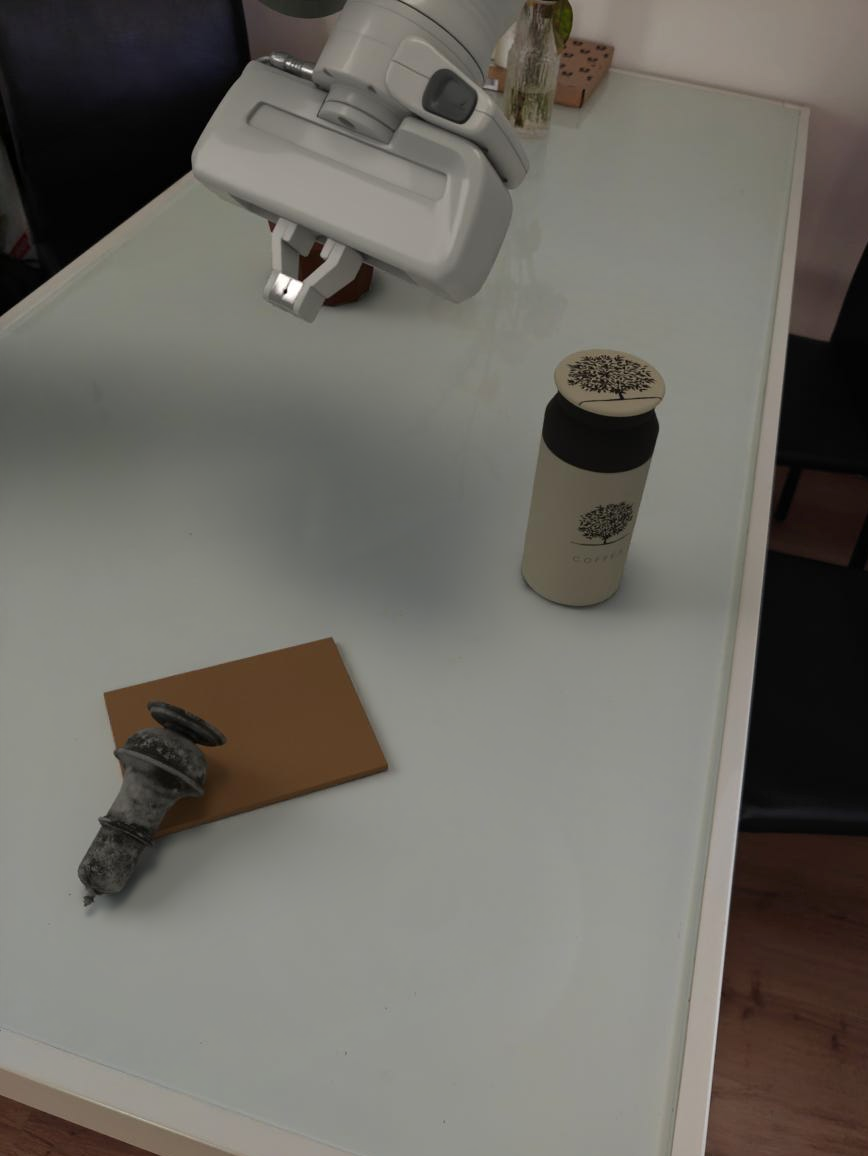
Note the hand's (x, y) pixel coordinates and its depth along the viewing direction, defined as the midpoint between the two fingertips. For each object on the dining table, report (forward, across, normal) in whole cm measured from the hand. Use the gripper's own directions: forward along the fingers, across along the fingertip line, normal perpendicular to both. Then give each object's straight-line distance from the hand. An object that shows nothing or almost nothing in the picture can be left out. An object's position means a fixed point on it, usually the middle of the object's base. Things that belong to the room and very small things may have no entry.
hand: (286, 311), depth 61 cm
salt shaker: (+25, +5, +2) cm, 25 cm away
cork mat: (+25, +6, +8) cm, 27 cm away
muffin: (-9, -29, +42) cm, 52 cm away
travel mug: (+6, +15, +27) cm, 32 cm away
